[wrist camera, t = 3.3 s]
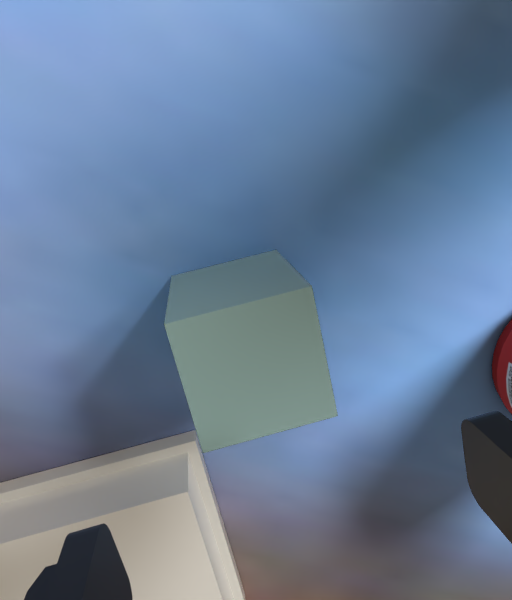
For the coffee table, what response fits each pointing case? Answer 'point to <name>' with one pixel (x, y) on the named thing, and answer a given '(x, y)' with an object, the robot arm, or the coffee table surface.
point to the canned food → (503, 366)
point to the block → (248, 349)
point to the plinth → (124, 521)
